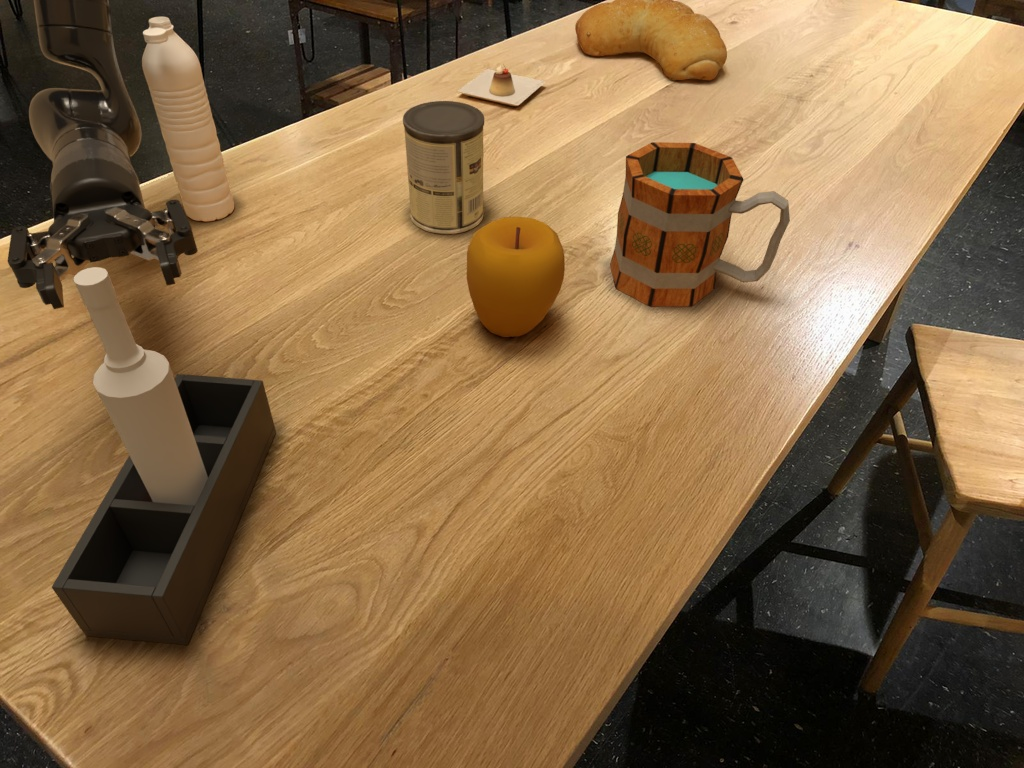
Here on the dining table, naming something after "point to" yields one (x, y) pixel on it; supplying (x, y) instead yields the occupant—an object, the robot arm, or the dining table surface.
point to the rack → (170, 524)
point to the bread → (655, 36)
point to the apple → (514, 274)
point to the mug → (682, 223)
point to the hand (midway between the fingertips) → (112, 287)
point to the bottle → (142, 400)
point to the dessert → (501, 87)
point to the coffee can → (445, 166)
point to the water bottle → (186, 122)
